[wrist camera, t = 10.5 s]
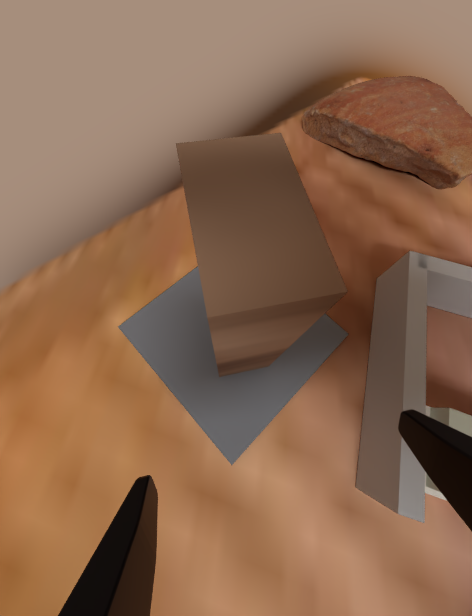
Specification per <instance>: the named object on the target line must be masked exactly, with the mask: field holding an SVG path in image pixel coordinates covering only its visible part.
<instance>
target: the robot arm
mask: <svg viewBox="0 0 472 616" xmlns="http://www.w3.org/2000/svg"><path fill="white" fill-rule="evenodd" d="M398 430H399V433H400V435H401V436H402V438H403V439H404V441H405V442H406V444H407V445H408V447H409V448H410V450H411V451H412V453H413V454H414V456H415V457H416V459H417V460H418V462H419V463H420V465H421V466H422V468H423V469H424V471H425V472H426V473H427V475H428V476H429V478H430V479H431V480H432V482H433V483H434V484H435V486H436V487H437V488H438V489H439V491H440V492H441V493H442V494H443V496H444V497H445V498H446V499H447V501H448V502H449V503H450V504H451V506H452V507H453V508H454V509H455V511H456V512H457V513H458V515H459V516H460V517H461V518H462V520H463V521H464V522H465V523H466V525H467V526H468V527H469V528H470V530H471V531H472V437H471V436H469V435H467V434H465V433H462V432H460V431H458V430H456V429H454V428H452V427H450V426H448V425H446V424H444V423H441V422H439V421H437V420H435V419H433V418H431V417H429V416H427V415H425V414H422V413H420V412H418V411H416V410H413V409H409V410H405V411H402V412H401V414H400V418H399V424H398ZM157 508H158V494H157V489H156V487H155V484H154V482H153V479H152V477H151V476H150V475H147V476H143V477H139V478H138V479H137V480H136V481H135V483H134V484H133V486H132V488H131V490H130V491H129V493H128V495H127V497H126V498H125V500H124V502H123V503H122V505H121V507H120V509H119V510H118V512H117V514H116V516H115V517H114V519H113V521H112V523H111V524H110V526H109V528H108V530H107V531H106V533H105V535H104V537H103V538H102V540H101V542H100V543H99V545H98V547H97V549H96V550H95V552H94V554H93V556H92V557H91V559H90V561H89V563H88V564H87V566H86V568H85V570H84V571H83V573H82V575H81V577H80V578H79V580H78V582H77V583H76V585H75V587H74V589H73V590H72V592H71V594H70V596H69V597H68V599H67V601H66V603H65V604H64V606H63V608H62V610H61V611H60V613H59V615H58V616H150V609H151V600H152V592H153V583H154V574H155V564H156V548H157Z"/></svg>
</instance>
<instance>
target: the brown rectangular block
mask: <svg viewBox="0 0 472 616" xmlns="http://www.w3.org/2000/svg"><path fill="white" fill-rule="evenodd" d="M176 147H177V152H178V158H179V163H180V169H181V174H182V180H183V185H184V191H185V196H186V202H187V208H188V213H189V219H190V224H191V230H192V235H193V241H194V246H195V252H196V257H197V263H198V268H199V274H200V279H201V285H202V291H203V296H204V302H205V307H206V313H207V318H208V323H209V328H210V333H211V338H212V343H213V348H214V353H215V358H216V363H217V368H218V373H219V377H222V376H227V375H231V374H236V373H240V372H245V371H250V370H254V369H259V368H264V367H268V366H270V365H271V364H272V363H273V362H274V361H275V360H276V359H277V358H278V357H279V356H280V355H281V354H282V353H283V352H284V351H285V350H287V349H288V348H289V347H290V346H291V345H292V344H293V343H294V342H295V341H296V340H297V339H298V338H299V337H300V336H301V335H302V334H303V333H305V332H306V331H307V330H308V329H309V328H310V327H311V326H312V325H313V324H314V323H315V322H316V321H317V320H318V319H319V318H320V317H321V316H323V315H324V314H325V313H326V312H327V311H328V310H329V309H330V308H331V307H332V306H333V305H334V304H335V303H336V302H337V301H338V300H339V299H341V298H342V297H343V296H344V295H345V294H346V293H347V292H348V291H347V289H346V286H345V284H344V281H343V279H342V277H341V274H340V272H339V270H338V267H337V265H336V262H335V260H334V258H333V255H332V253H331V251H330V248H329V246H328V243H327V241H326V239H325V236H324V234H323V232H322V229H321V227H320V224H319V222H318V220H317V217H316V215H315V212H314V210H313V208H312V205H311V203H310V201H309V198H308V196H307V193H306V191H305V189H304V186H303V184H302V182H301V179H300V177H299V174H298V172H297V170H296V167H295V165H294V162H293V160H292V158H291V155H290V153H289V151H288V148H287V146H286V143H285V141H284V139H283V136H282V134H281V133H275V134H265V135H255V136H246V137H235V138H226V139H216V140H206V141H196V142H187V143H177V144H176Z"/></svg>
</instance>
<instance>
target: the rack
mask: <svg viewBox="0 0 472 616" xmlns="http://www.w3.org/2000/svg"><path fill="white" fill-rule="evenodd" d="M427 306H430V307H434V308H437V309H441V310H445V311H448V312H452V313H455V314H459V315H462V316H466V317H469V318H472V267H469V266H465V265H461V264H458V263H454V262H450V261H447V260H443V259H439V258H435V257H432V256H428V255H424V254H421V253H417V252H413V251H409V252H408V253H406V254H405V255H404V256H403V257H402V258H401V259H399V260H398V261H397V262H396V263H395V264H393V265H392V266H391V267H390V268H389V269H388V270H386V271H385V272H384V273H383V274H382V275H380V276H379V277H378V278H377V281H376V291H375V301H374V311H373V321H372V331H371V340H370V350H369V360H368V370H367V380H366V390H365V400H364V409H363V419H362V429H361V439H360V449H359V459H358V468H357V478H356V488H357V489H359V490H360V491H362V492H363V493H365V494H367V495H368V496H370V497H371V498H373V499H375V500H376V501H378V502H380V503H381V504H383V505H384V506H386V507H388V508H389V509H391V510H393V511H394V512H396V513H397V514H400V515H403V516H405V517H408V518H411V519H414V520H417V521H420V522H422V523H424V519H425V471H424V469H423V468H422V466H421V465H420V463H419V462H418V460H417V459H416V457H415V456H414V454H413V453H412V451H411V450H410V448H409V447H408V445H407V444H406V442H405V441H404V439H403V438H402V436H401V435H400V433H399V430H398V424H399V418H400V414H401V412H402V411H405V410H409V409H413V410H416V411H418V412H420V413H422V414H425V415H426V338H427Z"/></svg>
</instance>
